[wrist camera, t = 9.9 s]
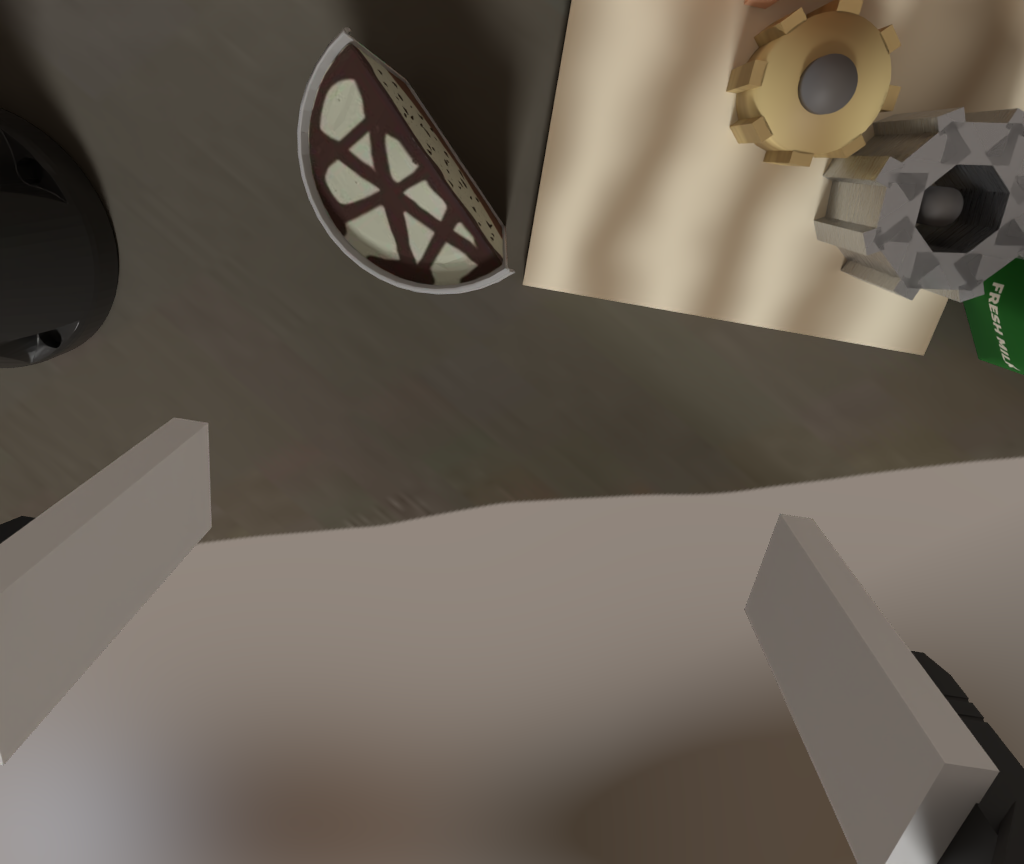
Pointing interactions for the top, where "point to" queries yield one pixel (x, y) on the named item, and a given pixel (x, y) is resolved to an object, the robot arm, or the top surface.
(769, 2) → the planet gear
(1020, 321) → the milk carton
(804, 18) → the carrier
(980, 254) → the seated gear
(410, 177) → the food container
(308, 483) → the top surface
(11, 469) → the top surface
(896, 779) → the robot arm
